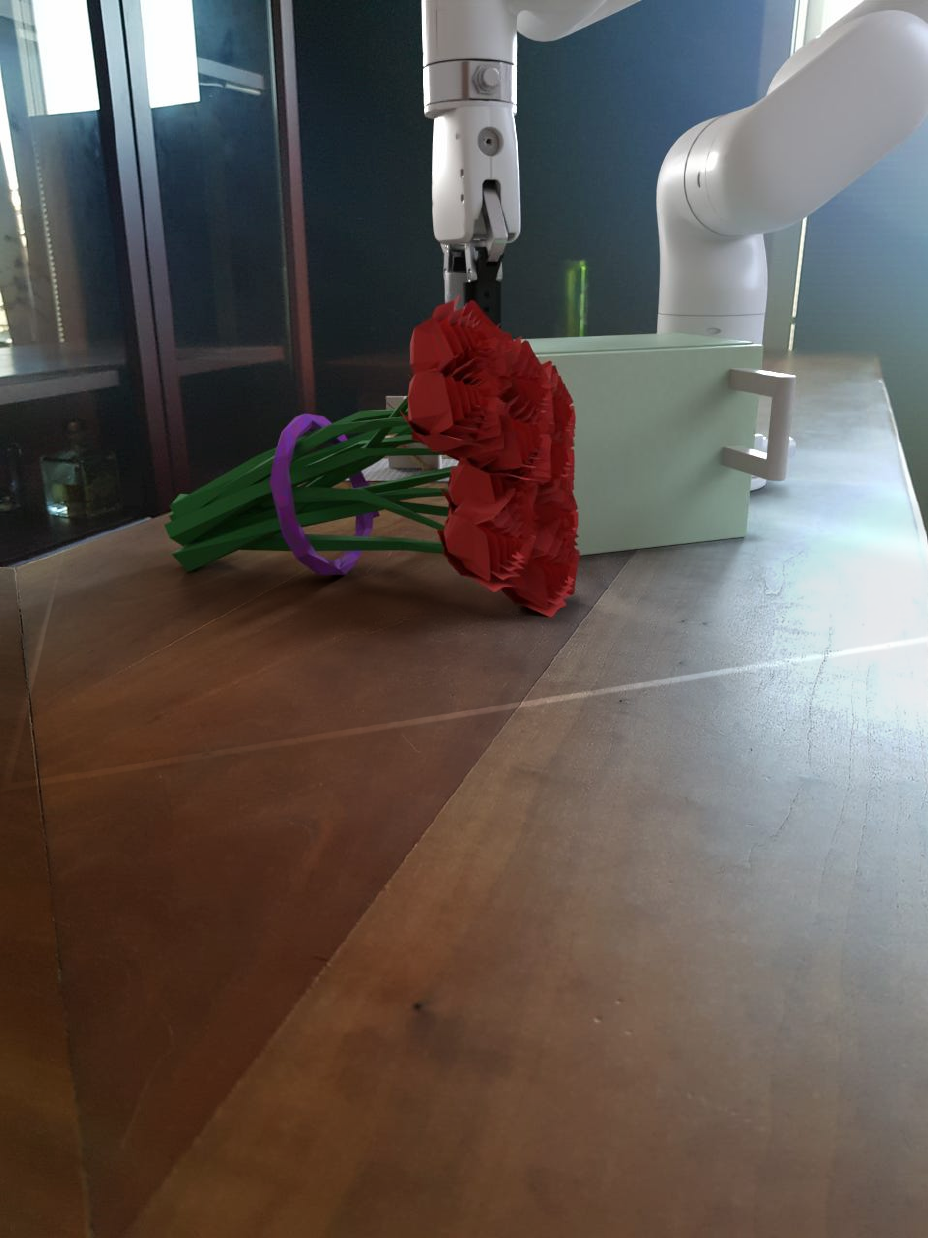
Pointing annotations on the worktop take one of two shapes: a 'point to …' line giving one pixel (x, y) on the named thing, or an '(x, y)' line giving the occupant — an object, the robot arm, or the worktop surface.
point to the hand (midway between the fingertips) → (472, 327)
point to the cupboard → (626, 343)
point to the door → (670, 442)
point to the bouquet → (449, 425)
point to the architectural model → (405, 458)
